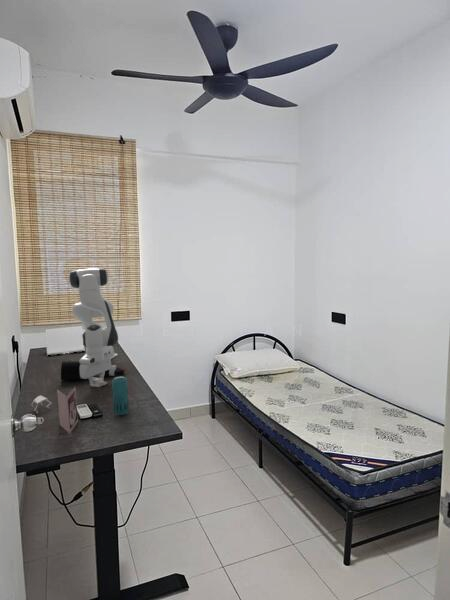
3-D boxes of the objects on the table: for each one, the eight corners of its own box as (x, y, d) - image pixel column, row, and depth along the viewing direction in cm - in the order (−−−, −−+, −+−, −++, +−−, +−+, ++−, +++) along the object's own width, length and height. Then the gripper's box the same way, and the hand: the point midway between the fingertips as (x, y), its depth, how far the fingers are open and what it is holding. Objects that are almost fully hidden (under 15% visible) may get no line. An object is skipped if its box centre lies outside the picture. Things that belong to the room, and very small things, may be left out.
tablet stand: (47, 351, 294) (45, 328, 292) (83, 347, 304) (81, 325, 302) (47, 357, 278) (45, 333, 276) (85, 352, 287) (83, 329, 285)
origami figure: (54, 410, 180) (53, 399, 179) (33, 414, 175) (32, 403, 175) (48, 402, 190) (48, 392, 189) (29, 406, 185) (28, 396, 185)
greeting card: (71, 433, 155) (68, 396, 153) (52, 434, 155) (48, 397, 153) (80, 421, 166) (77, 386, 165) (61, 422, 166) (58, 387, 164)
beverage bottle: (115, 419, 167) (112, 373, 165) (112, 414, 173) (109, 368, 171) (130, 416, 170) (128, 370, 167) (128, 411, 176) (125, 366, 174)
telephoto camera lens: (124, 383, 230) (126, 369, 224) (60, 383, 220) (60, 370, 215) (124, 370, 238) (125, 357, 233) (62, 371, 228) (62, 357, 223)
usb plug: (88, 385, 212) (88, 379, 212) (93, 383, 216) (92, 377, 215) (103, 387, 208) (102, 381, 208) (107, 385, 212) (107, 378, 211)
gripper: (104, 351, 221) (105, 375, 223) (76, 360, 203) (78, 387, 204) (113, 352, 219) (114, 376, 220) (86, 361, 200) (88, 388, 202)
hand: (97, 382), depth 212 cm, fingers open, 5 cm apart
